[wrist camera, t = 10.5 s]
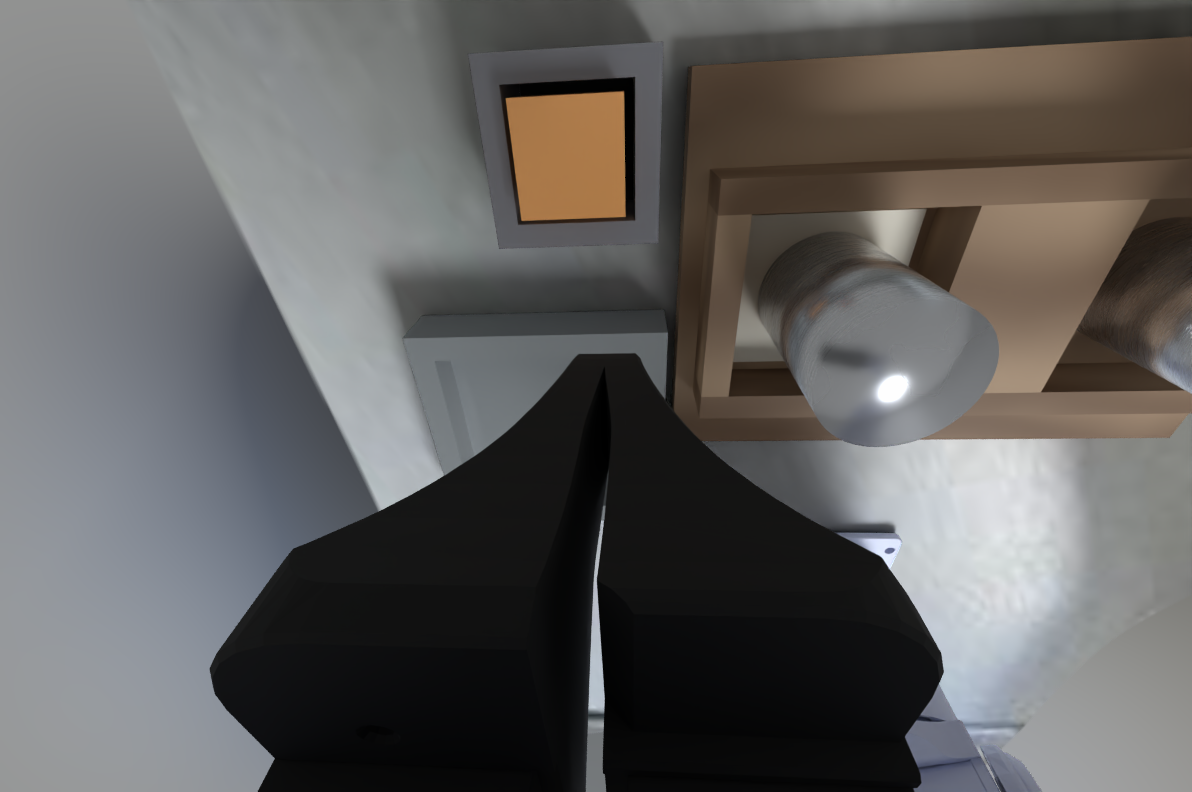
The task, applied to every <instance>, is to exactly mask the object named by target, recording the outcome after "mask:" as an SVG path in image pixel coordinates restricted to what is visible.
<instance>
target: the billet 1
mask: <svg viewBox="0 0 1192 792" xmlns="http://www.w3.org/2000/svg"><path fill="white" fill-rule="evenodd" d="M758 312H759V316H760V319H761V322H762V323H763V325H764V327H765V329H766V331H767V332H768V334H769V336H770V337H771V339H772V341H773V343H774V344H775V346H776V348H777V350H778V351H779V353H780V355H781V356H782V358H783V360H784V362H785V363H786V365H787V367H788V368H789V370H790V372H791V374H792V375H793V377H794V379H795V380H796V382H797V384H798V386H799V387H800V389H801V391H802V393H803V394H804V396H805V398H806V399H807V401H808V403H809V405H810V406H811V408H812V410H813V411H814V413H815V415H816V417H817V418H818V420H819V422H820V423H821V424H822V425H823V427H824V428H825V429H826V430H827V431H828V432H830V433H831V434H832V435H834V436H835V437H837V438H839V439H841V440H843V441H845V442H848V443H852V444H855V445H860V446H868V447H887V446H895V445H900V444H905V443H909V442H912V441H916V440H919V439H922V438H924V437H927V436H929V435H931V434H933V433H935V432H937V431H939V430H941V429H943V428H945V427H946V426H948V425H950V424H951V423H953V422H954V421H955V420H957V419H958V418H960V417H961V416H962V415H963V414H964V413H966V412H967V411H968V410H969V409H970V408H971V407H972V406H973V405H974V404H975V403H976V402H977V401H978V400H979V398H980V397H981V396H982V395H983V393H984V392H985V391H986V389H987V387H988V386H989V384H990V382H991V380H992V378H993V376H994V374H995V371H996V368H997V364H998V359H999V342H998V338H997V335H996V332H995V330H994V328H993V326H992V325H991V323H990V322H989V321H988V320H987V318H986V317H984V316H983V315H982V314H981V313H980V312H978V311H977V310H975V309H974V308H972V307H971V306H969V305H967V304H966V303H964V302H963V301H961V300H960V299H958V298H957V297H955V296H953V295H952V294H950V293H949V292H947V291H946V290H944V289H943V288H941V287H939V286H938V285H936V284H935V283H933V282H932V281H930V280H929V279H927V278H925V277H924V276H922V275H921V274H919V273H918V272H916V271H915V270H913V269H911V268H910V267H908V266H907V265H905V264H904V263H902V262H901V261H899V260H897V259H896V258H894V257H893V256H891V255H890V254H888V253H887V252H885V251H883V250H882V249H880V248H879V247H877V246H876V245H874V244H872V243H871V242H869V241H868V240H866V239H864V238H863V237H861V236H858V235H856V234H853V233H848V232H839V231H834V232H824V233H819V234H816V235H813V236H810V237H807V238H805V239H803V240H801V241H799V242H797V243H796V244H794V245H792V246H791V247H790V248H788V249H787V250H785V251H784V252H783V253H782V254H781V255H780V256H779V257H778V258H777V259H776V260H775V261H774V263H773V264H772V265H771V267H770V268H769V269H768V271H767V273H766V275H765V276H764V278H763V281H762V283H761V286H760V290H759V294H758Z"/></svg>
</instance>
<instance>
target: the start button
mask: <svg viewBox="0 0 1192 792" xmlns="http://www.w3.org/2000/svg"><path fill="white" fill-rule="evenodd" d="M506 105H507V112H508V120H509V128H510V135H511V143H512V151H513V159H514V166H515V174H516V182H517V189H518V197H519V205H520V213H521V220H522V221H531V220H557V219H584V218H610V217H626V213H625V131H624V90H617V91H599V92H581V93H563V94H545V95H528V96H519V97H511V98H506Z"/></svg>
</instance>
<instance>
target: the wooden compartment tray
mask: <svg viewBox="0 0 1192 792" xmlns="http://www.w3.org/2000/svg"><path fill="white" fill-rule="evenodd" d="M1174 217H1192V37H1176V38H1159V39H1142V40H1125V41H1108V42H1091V43H1074V44H1057V45H1040V46H1023V47H1006V48H989V49H972V50H954V51H937V52H920V53H903V54H886V55H869V56H852V57H835V58H818V59H801V60H784V61H767V62H750V63H733V64H716V65H699V66H690V67H688V84H687V104H686V124H685V144H684V164H683V184H682V204H681V224H680V244H679V264H678V284H677V304H676V324H675V344H674V364H673V384H672V404H671V408H672V409H673V410H674V412H675V413H676V414H677V415H678V416H679V418H680V419H681V420H682V421H683V422H684V423H685V424H686V426H687V427H688V428H689V429H690V430H691V431H692V432H693V433H694V434H695V435H696V436H697V437H698V438H699V439H700V440H701V441H790V440H841V439H839V438H837V437H835V436H834V435H832V434H831V433H830V432H828V431H827V430H826V429H825V428H824V427H823V425H822V424H821V423H820V422H819V420H818V418H817V417H816V415H815V413H814V411H813V410H812V408H811V406H810V405H809V403H808V401H807V399H806V398H805V396H804V394H803V393H802V391H801V389H800V387H799V386H798V384H797V382H796V380H795V379H794V377H793V375H792V374H791V372H790V370H789V368H788V367H787V365H786V363H785V362H784V360H783V358H782V356H781V355H780V353H779V351H778V350H777V348H776V346H775V344H774V343H773V341H772V339H771V337H770V336H769V334H768V332H767V331H766V329H765V327H764V325H763V323H762V322H761V319H760V316H759V312H758V294H759V290H760V286H761V283H762V281H763V278H764V276H765V275H766V273H767V271H768V269H769V268H770V267H771V265H772V264H773V263H774V261H775V260H776V259H777V258H778V257H779V256H780V255H781V254H782V253H783V252H784V251H785V250H787V249H788V248H790V247H791V246H792V245H794V244H796V243H797V242H799V241H801V240H803V239H805V238H807V237H810V236H813V235H816V234H819V233H824V232H834V231H839V232H848V233H853V234H856V235H858V236H861V237H863V238H864V239H866V240H868V241H869V242H871V243H872V244H874V245H876V246H877V247H879V248H880V249H882V250H883V251H885V252H887V253H888V254H890V255H891V256H893V257H894V258H896V259H897V260H899V261H901V262H902V263H904V264H905V265H907V266H908V267H910V268H911V269H913V270H915V271H916V272H918V273H919V274H921V275H922V276H924V277H925V278H927V279H929V280H930V281H932V282H933V283H935V284H936V285H938V286H939V287H941V288H943V289H944V290H946V291H947V292H949V293H950V294H952V295H953V296H955V297H957V298H958V299H960V300H961V301H963V302H964V303H966V304H967V305H969V306H971V307H972V308H974V309H975V310H977V311H978V312H980V313H981V314H982V315H983V316H984V317H986V318H987V320H988V321H989V322H990V323H991V325H992V326H993V328H994V330H995V332H996V335H997V338H998V342H999V359H998V364H997V368H996V371H995V374H994V376H993V378H992V380H991V382H990V384H989V386H988V387H987V389H986V391H985V392H984V393H983V395H982V396H981V397H980V398H979V400H978V401H977V402H976V403H975V404H974V405H973V406H972V407H971V408H970V409H969V410H968V411H967V412H966V413H964V414H963V415H962V416H961V417H960V418H958V419H957V420H955V421H954V422H953V423H951V424H950V425H948V426H946V427H945V428H943V429H941V430H939V431H937V432H935V433H933V434H931V435H929V436H927V437H924V438H922V439H919V440H926V439H1061V438H1170V436H1171V435H1172V434H1173V433H1174V431H1175V430H1176V429H1177V428H1178V426H1179V425H1180V424H1181V423H1182V421H1183V420H1184V419H1185V418H1186V416H1187V415H1188V414H1189V413H1192V394H1191V393H1189V392H1187V391H1186V390H1184V389H1182V388H1180V387H1178V386H1176V385H1175V384H1173V383H1171V382H1169V381H1167V380H1165V379H1164V378H1162V377H1160V376H1158V375H1156V374H1154V373H1153V372H1151V371H1149V370H1147V369H1145V368H1143V367H1142V366H1140V365H1138V364H1136V363H1134V362H1132V361H1131V360H1129V359H1127V358H1125V357H1123V356H1121V355H1120V354H1118V353H1116V352H1114V351H1112V350H1110V349H1109V348H1107V347H1105V346H1103V345H1101V344H1099V343H1098V342H1096V341H1094V340H1092V339H1090V338H1088V337H1087V336H1085V335H1083V334H1081V333H1079V332H1078V331H1077V330H1076V329H1077V328H1078V326H1079V324H1080V322H1081V320H1082V319H1083V317H1084V315H1085V313H1086V312H1087V310H1088V308H1089V306H1090V305H1091V303H1092V301H1093V299H1094V298H1095V296H1096V294H1097V292H1098V290H1099V289H1100V287H1101V285H1102V283H1103V282H1104V280H1105V278H1106V276H1107V275H1108V273H1109V271H1110V269H1111V267H1112V266H1113V264H1114V262H1115V260H1116V259H1117V257H1118V255H1119V253H1120V252H1121V250H1122V248H1123V246H1124V245H1125V243H1126V241H1127V239H1128V237H1129V236H1130V234H1131V232H1132V231H1133V230H1135V229H1137V228H1139V227H1142V226H1144V225H1147V224H1149V223H1152V222H1155V221H1159V220H1163V219H1168V218H1174Z"/></svg>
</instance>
